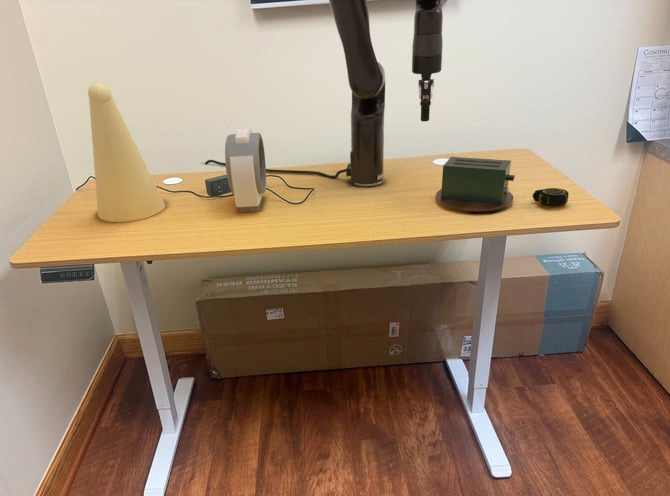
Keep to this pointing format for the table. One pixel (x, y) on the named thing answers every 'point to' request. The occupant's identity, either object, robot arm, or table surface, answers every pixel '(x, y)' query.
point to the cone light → (118, 164)
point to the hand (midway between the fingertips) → (424, 117)
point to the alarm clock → (246, 168)
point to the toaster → (475, 184)
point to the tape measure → (551, 197)
